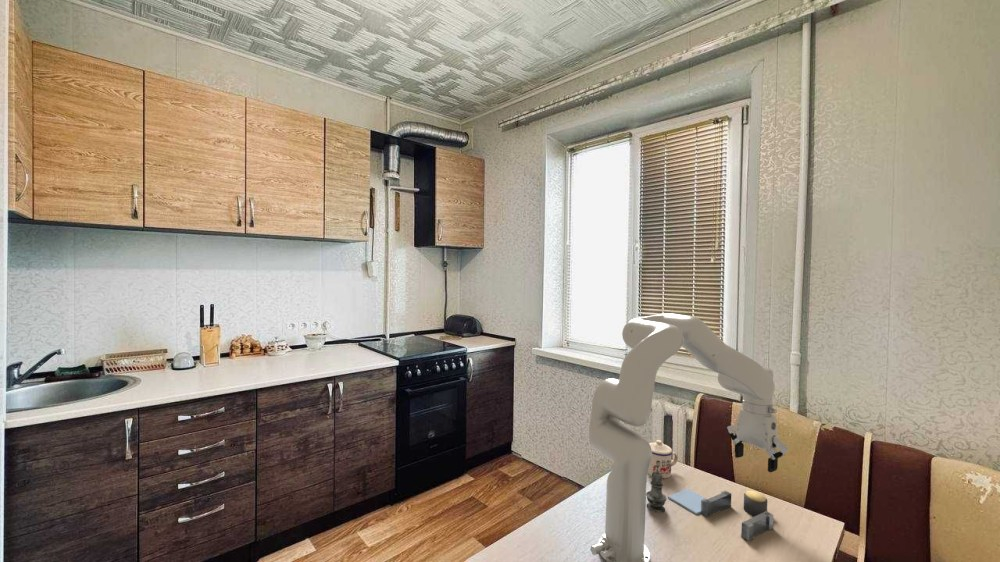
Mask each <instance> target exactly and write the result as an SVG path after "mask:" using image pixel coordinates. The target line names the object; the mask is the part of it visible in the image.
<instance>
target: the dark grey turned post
mask: <svg viewBox="0 0 1000 562" xmlns="http://www.w3.org/2000/svg"><path fill="white" fill-rule="evenodd" d="M650 485H651V487H650V488H651V489H650V491H646V500H647V502H648V503H646V508H647V509H648V510H649V511H650V512H653V513H656V514H662V513H665V512H666V508H665V507H664V505H665V504H666V501H667V500H668V497H666V495H665V494H663V487H664V484H663V478H662V474H661V473H660V472H658V469H657V470H656V471H654V472H653V473H652V476H651V481H650Z"/></svg>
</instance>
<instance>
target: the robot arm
mask: <svg viewBox="0 0 1000 562" xmlns="http://www.w3.org/2000/svg"><path fill="white" fill-rule="evenodd" d="M621 335H622V339H623V342H624V343H625V344H626V346H627V347H629V348H630V349H631V350H629V352H628V353H627V354H626V355H625V357H624V358H623V361H622V363H621V367H620V372H619V377H618V379H617V378H611V377H610V378H606V379H604V380H602V381H601V382H600V383H599V384H598V386H597V387H596V389H595V391H594V393H593V397H592V402H591V403H592V405H591V413H590V419H589V426H588V439H589V442H590V444H591V446H592V448H593V449H594V450H595V451H596V452H598V453H599V454H601V456H604V458H606V459H607V460H609V461H611V462H612V464H613V467H612V469H611V471H610V472H609V473H608V475H607V480H606V495H605V496H606V501H605V525H604V527H605V529H604V530H605V531H604V532H605V533H604V534H602V535H601V538H599V541H598V543H596V544H594V545H591V546H590V551H591V554H592V555H594V556H596V555H598V554H600V556H601V558H603V560H604V561H606V562H651V553H650V550H649V548H648V547H647V546H646V544H645V534H646V533H645V532H646V531H645V530H646V527H645V526H646V508H647V503H646V502H647V501H646V500H647V496H646V493H647V482H648V475H649V474H648V470H649V466H650V463H651V458H652V449H651V446H650V444H649V443H650V441H648V439H646V437H645V436H644V435H643V434H642V433H641V434H640V433H639V432H638V431H636V430H634V429H633V428H631V427H629V426H626V425H625V424H622V423H620V422H623V423H626V424H627V425H630V426H633V427H643V426H645V424H647V423H648V422H649V419H650V416H651V411H652V406H653V405H652V404H653V396H654V389H655V382H656V379H657V378H656V377H657V374H658V371H659V370H660V367H661V366H662V365H663V364H664V363H665V362H666V361H667V360H668V359H670V358H671V357H672V356H674V355H676V354H677V353H678V352H679V351H680V350H681V348H683V349H685V350H686V351H687V352H688V353H689V354H690V355H691V356H692V357H694V358H695V359H696V360H697V362H699V363H700V365H702V366H703V367H705V368H707V369H708V370H711V371H712V372H715V373H717V381H718V383H719V385H720V386H721V387H722V388H724V389H725V390H727V391H728V392H732V393H736V394H739V395H742V406H741V407H740V408H739V412H738V417H737V422H736V424H733V425H728V426H727V428H726V429H727V430H728V433H729V437H730V438H731V439H732V443H733V444H734V458H736V459H739V458H741V457H744V447H745V444H744V443H746V444H748V445H750V446H752V447H753V446H754V447H756V448H758V449H762V450H763V451H766V454H767V455H768V456H769V457H768V459H767V472H769V473H773V472H776V471H777V470H778V468H779V467H778V466H779V465H778V464H779V463H778V462H779V459H780V458H781V457H783V456H785V455H786V453H788V451H789V447H788V446H787V445H786V444H785V443H784V442H782V441H781V440H780V439H779V429H778V423H777V419H776V418H777V417H776V414H777V412H778V410H777V408H774V405H773V399H774V398H773V397H774V392H775V387H776V386H775V383H774V372H773V370H772V369H771V368H769V367H767V366H764V365H761V364H759V362H757V361H756V360H754V359H753V358H751V357H749V356H747V355H745V354H743V353H742V352H740V351H738V350H737V349H735V348H733V347H731V346H730V345H727V344H726V343H725V342H724V341H723V340H722V339H721V338H720V337H719V336H718V335H717V334H716V333H715V332H714V331H713V330H712V329H711V328H710V327H709V326H708V325H707V324H706V323H705V322H704V321H703V320H701V319H700V318H699V317H696V316H693V315H685V314H679V313H668V312H667V313H659V314H654V315H647V316H643V317H642V316H641V317H635V318H633V319H631V320H629V321H628V322H626V324H625V325H624V326H623V328H622V334H621ZM774 414H775V415H774ZM735 431H736V432H735ZM743 442H744V443H743ZM777 448H779V450H777Z"/></svg>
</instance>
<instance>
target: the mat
mask: <svg viewBox="0 0 1000 562" xmlns="http://www.w3.org/2000/svg"><path fill="white" fill-rule="evenodd" d="M667 499H669V500H671V501H673V502H674V503H676V504H677V505H679V506H681V507H682V508H684V509H686V510H687V511H689V512H690V513H692V514H694V515H695V516H698V515H700V514H701V500H703V499H707V498H706V497H705V496H704V495H701V494H699V493H697V492H695V491H694V490H691V489H690V488H686V489H683V490H681V491H677V492H674V493H673V494H670V495H667Z"/></svg>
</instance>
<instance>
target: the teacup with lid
mask: <svg viewBox="0 0 1000 562" xmlns="http://www.w3.org/2000/svg"><path fill="white" fill-rule="evenodd" d="M649 444H650V446H651V449H652V458H651V463H650V466H649V470H648V475H650V477H652V473H653V472H654V471H656V470H657V469H658V472H660V473H661V474H662V479H663V478H664V479H669V478H670V477H671V476H672V467H674V466H675V465H677V462H678V460H679V456H678V454H677V453H676V452H674V451H673V450H672V448H671V447H670V446H669V445H667V444H664V443H663V441H662V440H660V439H657V440H655V441H654V442H649ZM672 455H674V459H673V458H672ZM672 459H673V461H672Z"/></svg>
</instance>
